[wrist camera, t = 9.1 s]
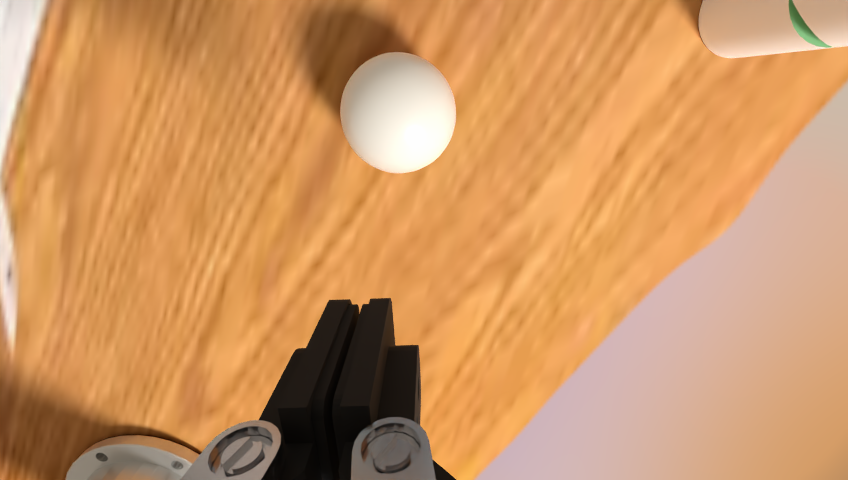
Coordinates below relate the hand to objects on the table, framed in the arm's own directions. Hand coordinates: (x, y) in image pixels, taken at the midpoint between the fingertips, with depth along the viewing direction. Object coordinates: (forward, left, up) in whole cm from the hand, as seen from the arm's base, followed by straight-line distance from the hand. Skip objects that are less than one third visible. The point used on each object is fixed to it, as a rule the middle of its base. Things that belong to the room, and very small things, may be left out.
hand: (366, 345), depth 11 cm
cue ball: (+5, +3, -11) cm, 12 cm away
